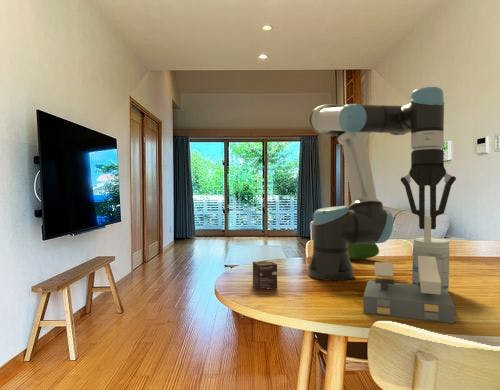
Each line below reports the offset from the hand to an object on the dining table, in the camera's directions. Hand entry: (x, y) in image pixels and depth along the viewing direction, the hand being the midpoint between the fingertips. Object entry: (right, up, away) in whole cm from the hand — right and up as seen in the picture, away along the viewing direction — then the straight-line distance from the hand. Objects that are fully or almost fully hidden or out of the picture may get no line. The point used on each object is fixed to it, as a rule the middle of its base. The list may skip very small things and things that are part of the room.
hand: (427, 242), depth 94 cm
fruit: (+1, -15, +59) cm, 61 cm away
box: (-41, -16, +17) cm, 47 cm away
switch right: (-2, -9, -4) cm, 10 cm away
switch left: (-11, -8, -1) cm, 14 cm away
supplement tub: (+7, -16, +13) cm, 22 cm away
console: (-7, -16, -3) cm, 17 cm away
